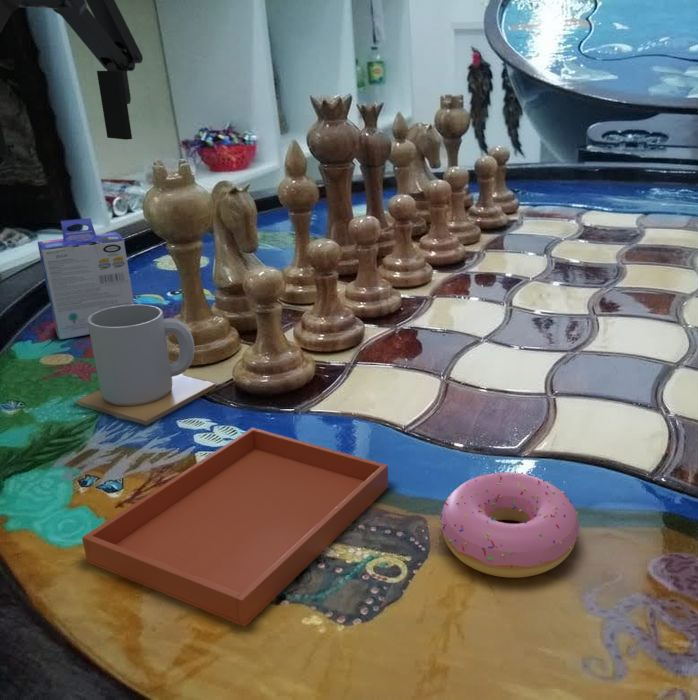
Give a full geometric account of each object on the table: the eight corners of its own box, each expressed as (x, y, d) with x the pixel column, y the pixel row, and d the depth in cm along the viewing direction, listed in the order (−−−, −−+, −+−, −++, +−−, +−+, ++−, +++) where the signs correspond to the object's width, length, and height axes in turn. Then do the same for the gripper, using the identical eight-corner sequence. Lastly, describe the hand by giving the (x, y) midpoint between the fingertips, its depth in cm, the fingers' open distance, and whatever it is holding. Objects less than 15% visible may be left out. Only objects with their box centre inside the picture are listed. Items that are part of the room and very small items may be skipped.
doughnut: (602, 571, 56) (608, 525, 54) (466, 603, 52) (467, 555, 50) (541, 493, 65) (544, 452, 63) (422, 516, 61) (422, 473, 60)
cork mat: (77, 405, 78) (76, 400, 78) (150, 371, 87) (149, 366, 86) (146, 425, 74) (145, 420, 74) (216, 388, 83) (215, 383, 83)
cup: (98, 385, 81) (84, 310, 78) (192, 369, 86) (183, 297, 82) (104, 412, 76) (90, 332, 72) (205, 394, 80) (195, 317, 77)
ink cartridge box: (131, 315, 104) (115, 213, 98) (140, 327, 100) (124, 222, 94) (53, 328, 98) (31, 221, 93) (59, 341, 94) (36, 230, 89)
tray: (86, 562, 55) (81, 537, 54) (254, 447, 71) (252, 427, 70) (245, 627, 49) (242, 600, 48) (388, 487, 65) (388, 464, 64)
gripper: (-120, -152, 50) (-45, 165, 58) (161, -91, 71) (187, 135, 79) (-183, -144, 53) (-103, 157, 61) (105, -88, 74) (136, 131, 82)
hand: (61, 145), depth 70 cm, fingers open, 13 cm apart
